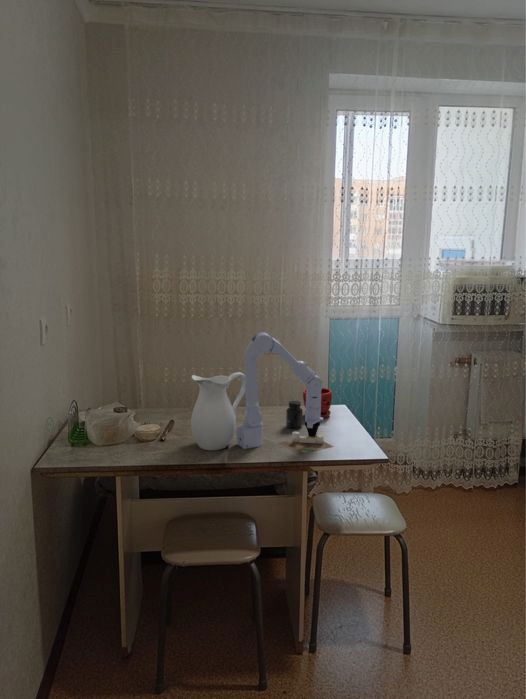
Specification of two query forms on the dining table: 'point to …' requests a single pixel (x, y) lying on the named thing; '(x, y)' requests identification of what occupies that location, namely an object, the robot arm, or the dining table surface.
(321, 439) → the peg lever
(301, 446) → the brown wooden board
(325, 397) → the plant pot
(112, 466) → the dining table surface
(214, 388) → the pitcher
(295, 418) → the supplement bottle
